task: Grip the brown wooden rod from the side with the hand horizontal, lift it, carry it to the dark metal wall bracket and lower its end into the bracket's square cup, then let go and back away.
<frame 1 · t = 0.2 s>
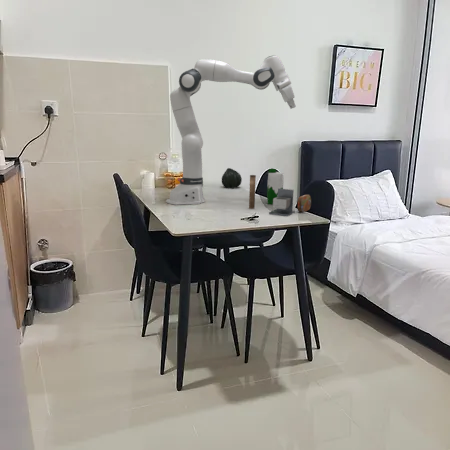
hand: (293, 107, 224), 54 cm above the table, tool tilted 30°, fingers open, 8 cm apart
squash: (231, 187, 297), on the table
bracket: (281, 213, 209), on the table
tin: (303, 211, 218), on the table
milk carton: (274, 203, 238), on the table
brown wooden rod: (251, 208, 222), on the table
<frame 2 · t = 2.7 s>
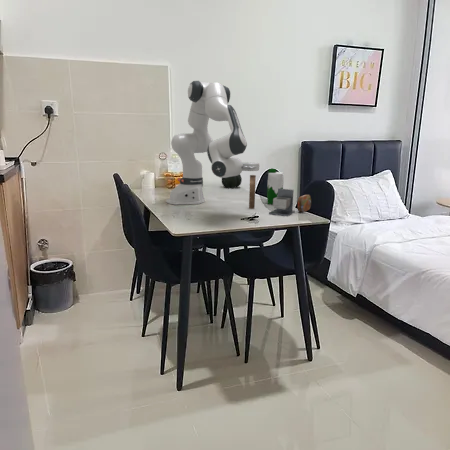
hand: (244, 165, 206), 24 cm above the table, tool horizontal, fingers open, 8 cm apart
nothing on the table moved.
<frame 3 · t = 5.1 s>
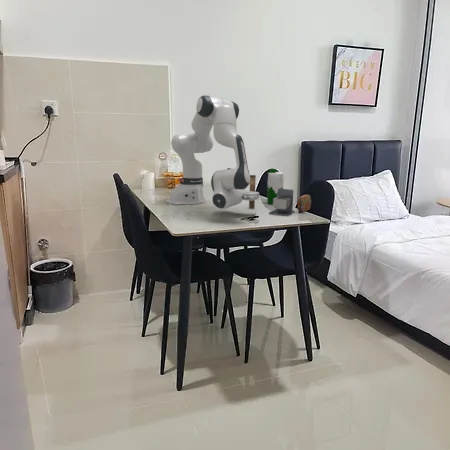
hand: (245, 192, 212), 10 cm above the table, tool horizontal, fingers open, 8 cm apart
nothing on the table moved.
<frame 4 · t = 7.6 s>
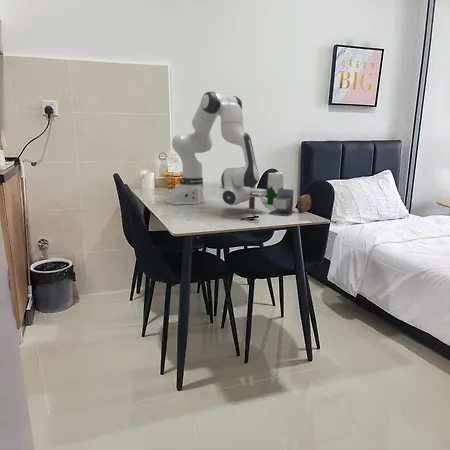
hand: (252, 189, 220), 10 cm above the table, tool horizontal, fingers closed on brown wooden rod, 3 cm apart
brown wooden rod: (251, 208, 222), on the table, touching gripper
everything else where it was.
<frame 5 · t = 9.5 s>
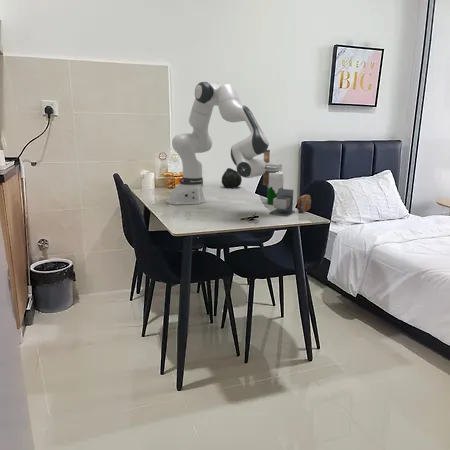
hand: (267, 165, 211), 24 cm above the table, tool horizontal, fingers closed on brown wooden rod, 3 cm apart
brown wooden rod: (265, 184, 213), point 14 cm above the table, touching gripper
everything else where it was.
when the fingers open (15 cm above the table, at t = 11.9 s): brown wooden rod drops 1 cm, resting on bracket.
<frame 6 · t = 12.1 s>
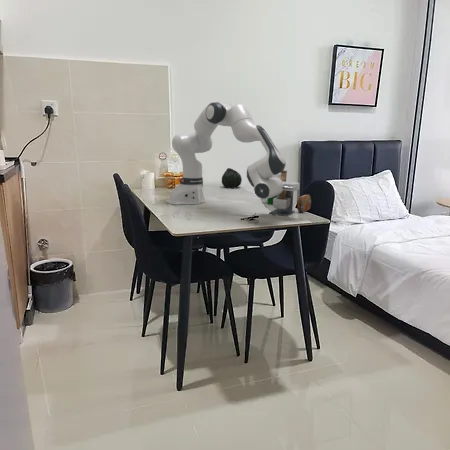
hand: (283, 183, 206), 15 cm above the table, tool horizontal, fingers open, 5 cm apart
brown wooden rod: (281, 205, 208), point 4 cm above the table, touching bracket
everything else where it was.
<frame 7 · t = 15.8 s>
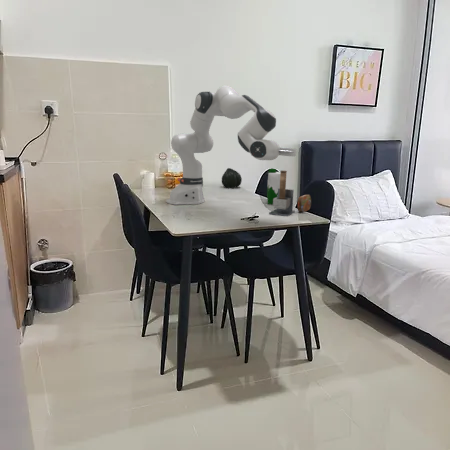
hand: (278, 150, 195), 32 cm above the table, tool horizontal, fingers open, 8 cm apart
nothing on the table moved.
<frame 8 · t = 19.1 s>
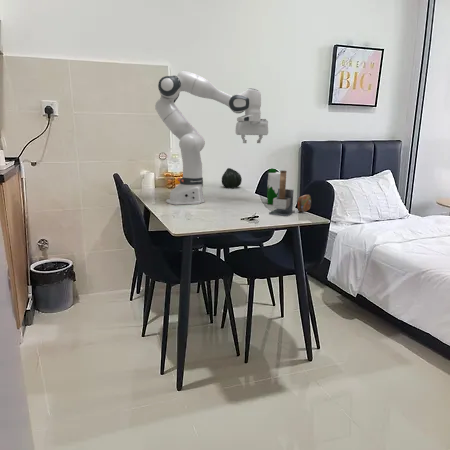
hand: (251, 143, 235), 34 cm above the table, tool pointing down, fingers open, 8 cm apart
nothing on the table moved.
at the end: brown wooden rod 0.0 cm off-centre on the bracket, point 4.0 cm above the bracket's base; brown wooden rod tilted 0°; the gripper is holding nothing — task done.
